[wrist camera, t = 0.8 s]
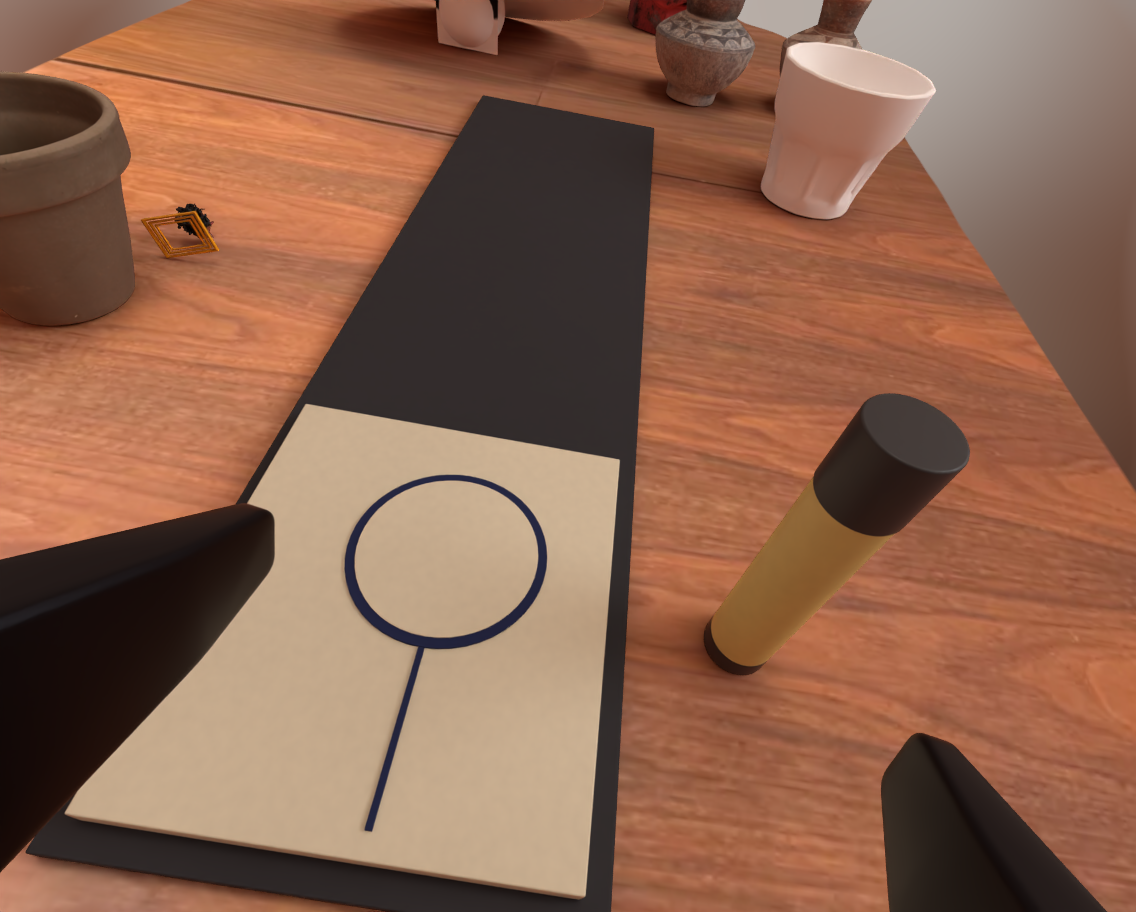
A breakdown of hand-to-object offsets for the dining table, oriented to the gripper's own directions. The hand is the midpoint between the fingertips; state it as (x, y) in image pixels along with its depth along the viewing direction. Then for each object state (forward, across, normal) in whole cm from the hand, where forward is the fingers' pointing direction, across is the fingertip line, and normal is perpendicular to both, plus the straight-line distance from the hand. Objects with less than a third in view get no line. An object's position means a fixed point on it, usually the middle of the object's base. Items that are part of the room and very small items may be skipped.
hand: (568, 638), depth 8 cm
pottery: (+80, 0, -15) cm, 82 cm away
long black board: (+33, +11, +4) cm, 35 cm away
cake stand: (+77, +34, -14) cm, 85 cm away
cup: (+60, -8, -6) cm, 61 cm away
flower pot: (+23, +34, +8) cm, 42 cm away
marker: (+16, -7, +12) cm, 21 cm away
